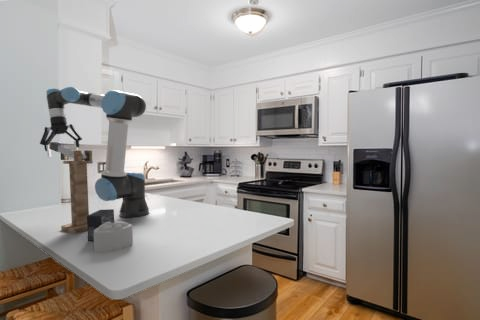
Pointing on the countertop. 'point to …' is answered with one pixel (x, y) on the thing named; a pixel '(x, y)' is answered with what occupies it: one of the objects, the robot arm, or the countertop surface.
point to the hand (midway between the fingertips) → (63, 155)
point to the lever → (65, 150)
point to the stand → (78, 192)
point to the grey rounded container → (112, 236)
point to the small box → (98, 221)
